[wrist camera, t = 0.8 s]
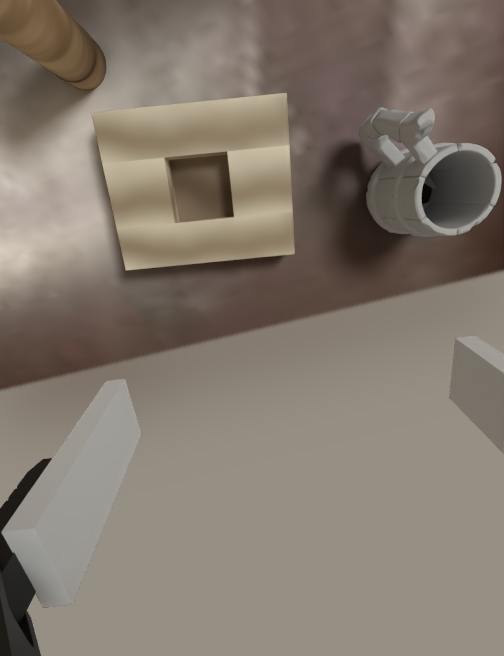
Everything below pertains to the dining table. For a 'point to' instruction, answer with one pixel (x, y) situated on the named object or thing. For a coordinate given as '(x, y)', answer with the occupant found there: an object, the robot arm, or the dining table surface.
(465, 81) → the dining table surface
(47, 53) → the leg
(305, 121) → the dining table surface
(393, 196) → the mug
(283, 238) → the wooden block with hole
